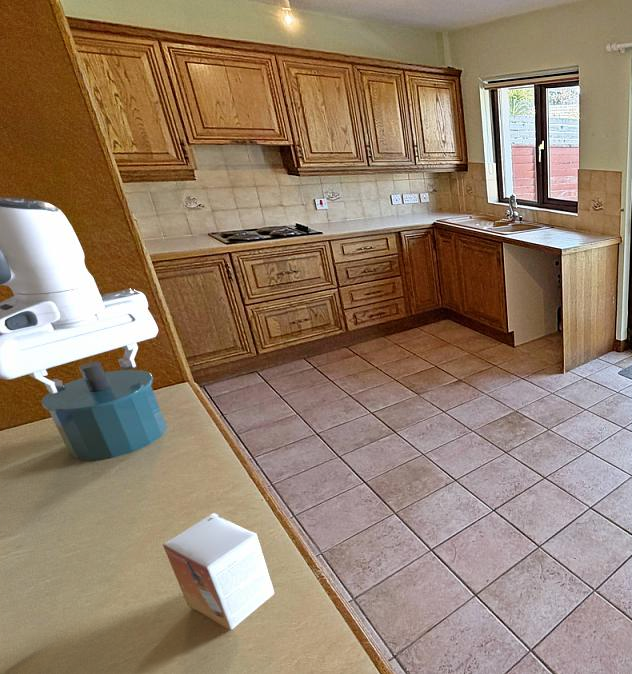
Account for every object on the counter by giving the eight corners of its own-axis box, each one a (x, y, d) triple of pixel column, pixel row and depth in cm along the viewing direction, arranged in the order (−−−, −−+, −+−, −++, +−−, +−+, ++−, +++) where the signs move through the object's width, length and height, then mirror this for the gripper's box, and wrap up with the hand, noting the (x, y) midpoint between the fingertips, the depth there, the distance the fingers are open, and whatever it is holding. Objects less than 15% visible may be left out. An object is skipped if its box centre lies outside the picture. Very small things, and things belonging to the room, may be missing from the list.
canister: (56, 450, 83) (30, 398, 79) (143, 415, 94) (124, 368, 89) (96, 471, 79) (71, 418, 74) (182, 432, 89) (165, 383, 85)
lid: (27, 402, 79) (11, 372, 76) (128, 369, 90) (117, 342, 88) (71, 423, 74) (56, 392, 72) (171, 386, 86) (161, 357, 83)
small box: (187, 606, 58) (159, 543, 54) (234, 571, 63) (212, 511, 59) (230, 632, 55) (205, 568, 51) (276, 593, 60) (256, 532, 56)
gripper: (131, 283, 85) (156, 352, 91) (-45, 319, 68) (-1, 401, 73) (152, 289, 83) (176, 359, 89) (-24, 327, 66) (20, 411, 71)
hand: (95, 378), depth 81 cm, fingers open, 8 cm apart
